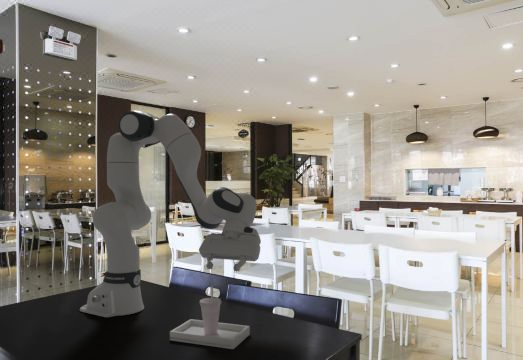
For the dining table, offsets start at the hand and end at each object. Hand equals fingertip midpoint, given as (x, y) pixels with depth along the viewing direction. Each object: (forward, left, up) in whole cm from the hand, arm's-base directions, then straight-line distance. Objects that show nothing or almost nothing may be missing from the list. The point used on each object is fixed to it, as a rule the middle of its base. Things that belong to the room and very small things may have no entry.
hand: (222, 269), depth 131 cm
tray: (0, -8, -18) cm, 20 cm away
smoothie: (0, -8, -18) cm, 19 cm away
